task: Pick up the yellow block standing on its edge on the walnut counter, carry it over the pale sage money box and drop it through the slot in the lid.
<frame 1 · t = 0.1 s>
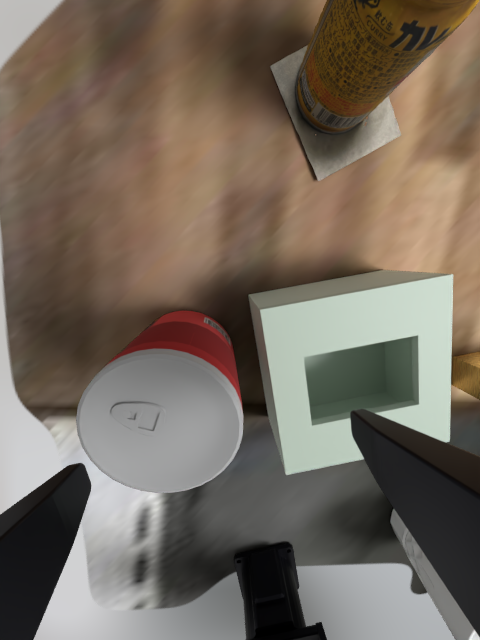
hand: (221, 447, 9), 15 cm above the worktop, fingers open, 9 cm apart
yellow block: (476, 365, 26), on the worktop
condiment: (336, 105, 20), on the worktop
coin box: (323, 347, 24), on the worktop
white cup: (417, 512, 30), on the worktop
canned food: (189, 350, 23), on the worktop
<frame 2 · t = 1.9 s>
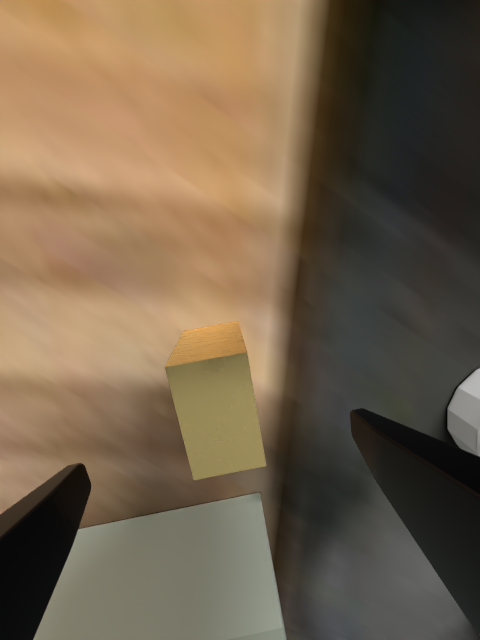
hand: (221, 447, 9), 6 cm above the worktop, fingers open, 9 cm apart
yellow block: (219, 367, 15), on the worktop
coin box: (187, 579, 18), on the worktop
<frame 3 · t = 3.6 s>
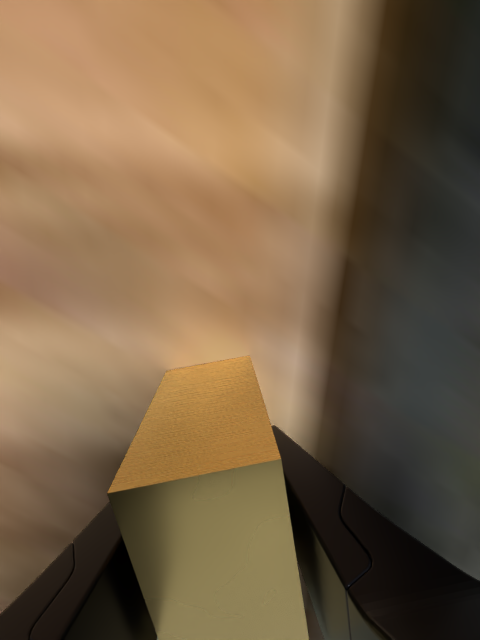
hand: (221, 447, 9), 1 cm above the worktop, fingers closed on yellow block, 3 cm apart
yellow block: (221, 423, 10), on the worktop, touching gripper
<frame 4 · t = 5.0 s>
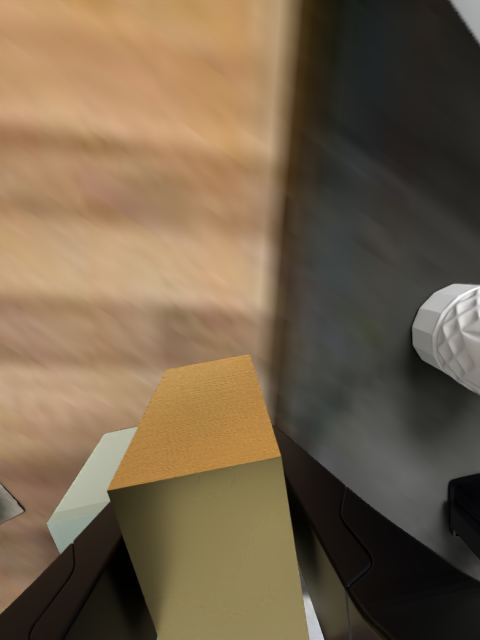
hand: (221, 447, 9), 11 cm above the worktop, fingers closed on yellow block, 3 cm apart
yellow block: (221, 422, 10), point 9 cm above the worktop, touching gripper
coin box: (199, 479, 22), on the worktop
white cup: (449, 325, 21), on the worktop
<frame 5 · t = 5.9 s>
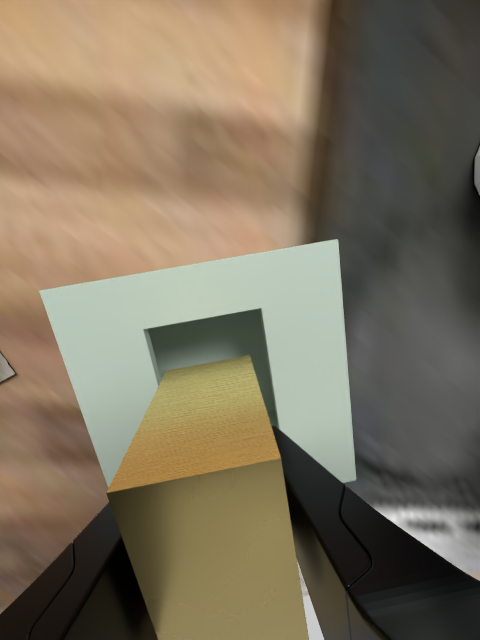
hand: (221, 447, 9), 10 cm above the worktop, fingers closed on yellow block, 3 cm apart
yellow block: (221, 423, 10), point 9 cm above the worktop, touching gripper
coin box: (219, 347, 19), on the worktop
when the fingers open (9 cm above the worktop, at t = 6.6 s): yellow block drops 8 cm, resting on coin box.
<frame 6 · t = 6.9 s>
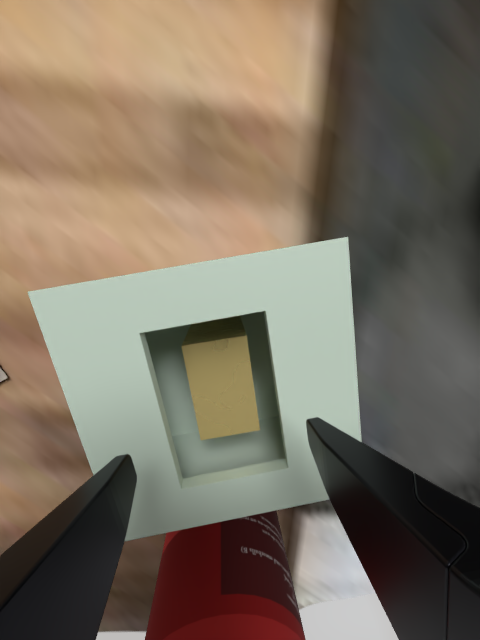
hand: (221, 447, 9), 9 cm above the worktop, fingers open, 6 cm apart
yellow block: (222, 353, 17), point 1 cm above the worktop, touching coin box
coin box: (220, 350, 18), on the worktop
canned food: (222, 494, 21), on the worktop
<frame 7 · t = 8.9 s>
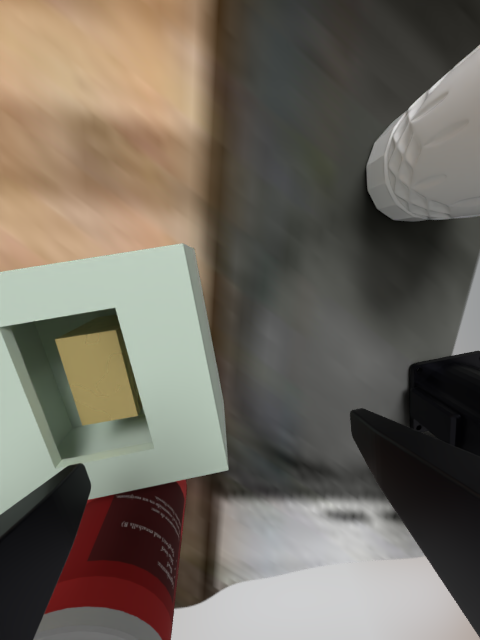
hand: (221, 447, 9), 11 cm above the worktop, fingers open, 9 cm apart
yellow block: (128, 347, 19), point 1 cm above the worktop, touching coin box
coin box: (129, 345, 19), on the worktop
white cup: (408, 172, 19), on the worktop
canned food: (142, 480, 22), on the worktop
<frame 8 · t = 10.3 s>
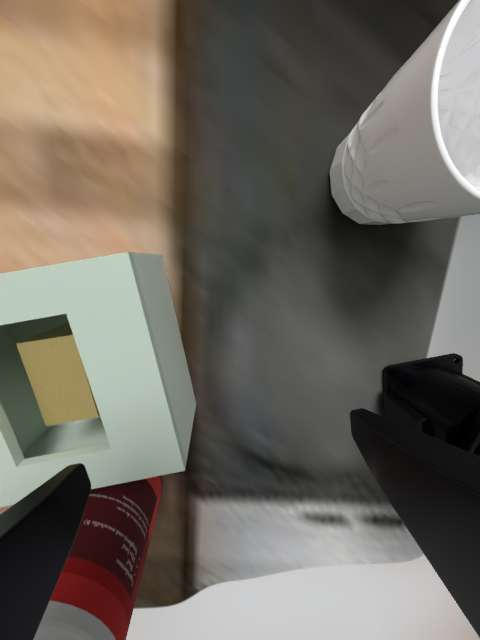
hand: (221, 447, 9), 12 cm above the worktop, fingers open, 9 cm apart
yellow block: (100, 351, 19), point 1 cm above the worktop, touching coin box
coin box: (101, 348, 20), on the worktop
white cup: (373, 176, 19), on the worktop
canned food: (119, 480, 23), on the worktop
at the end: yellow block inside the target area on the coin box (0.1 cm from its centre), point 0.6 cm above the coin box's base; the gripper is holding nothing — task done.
